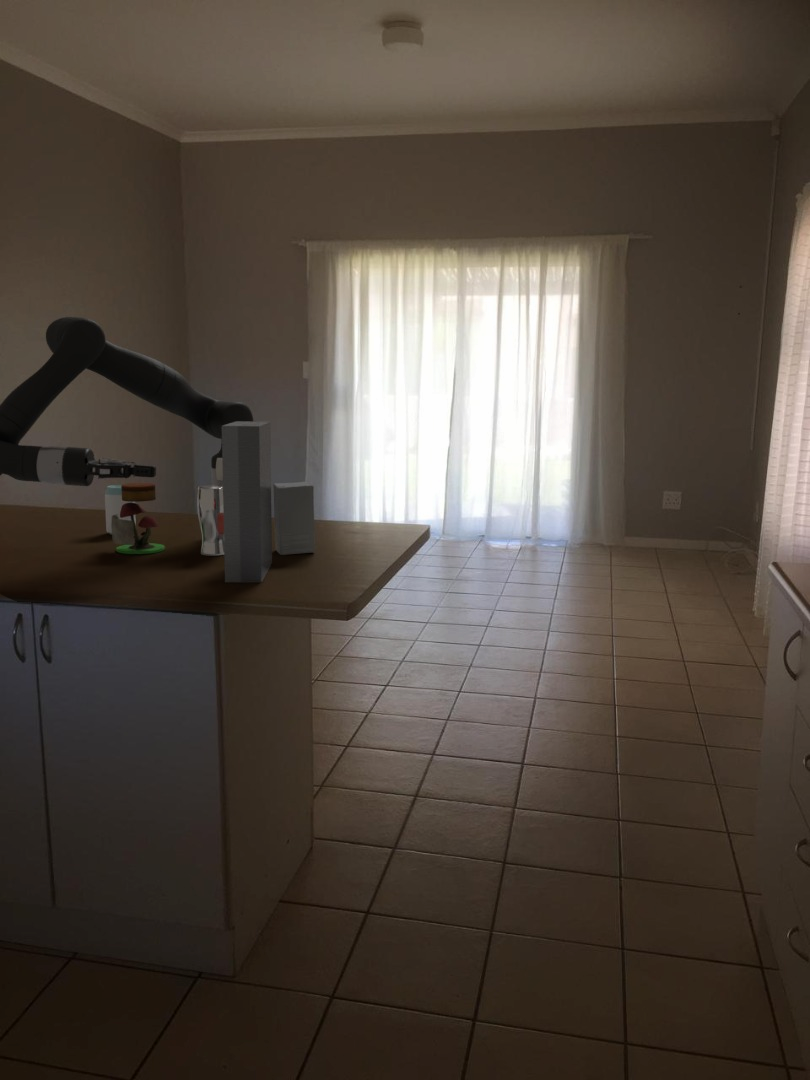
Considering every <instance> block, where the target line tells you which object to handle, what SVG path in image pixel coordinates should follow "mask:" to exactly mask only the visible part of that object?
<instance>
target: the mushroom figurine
mask: <svg viewBox="0 0 810 1080" xmlns="http://www.w3.org/2000/svg"><path fill="white" fill-rule="evenodd" d="M121 485H122V486H121V490H122V500H123V501H128V502H135V503H125V504H123V505H122V508H121V512H120V517H121V518H123V517H128V516H131V521H130V520H122V519H119V516H118V514H116V515H113V516H111V517H112V523H111V527H112V535H111V537H112V538H111V539H112V542H113V543H114V544H115V545H120V546H116V549H115V550H116V552H117V553H120V554H125V555H148V554H155V553H160V552H163V551H165V549H166V546H165V545H164V544H161V543H152V542H151V543H150V542H149V541H148V540H149V538H150V536H151V534H152V530H151V529H152V528H156V527H158V526H159V524H158V522H157V520H156V519H155V518H154V517H153V516H151V515H150V516H149V515H146V516H145V515H144V516H143V517H142V518H141V519H140V521H139V522H138V525H135V521H134V517H133V515H135V516H136V515H139V514H142V513H146V512H147V510H145V509H144V508H143V507H141V505H140V504H138V503H137V502H151V501H155V500H156V498H157V497H156V496H157V495H156V484H155V483H151V482H132V483H131V482H130V483H129V482H128V483H123V484H121ZM137 526H138V527H140V528H142V529H145V530H144V531H142V532H141V533H140V536H141V537H140V536H139V532H138V529H137Z"/></svg>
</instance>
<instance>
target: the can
mask: <svg viewBox="0 0 810 1080" xmlns="http://www.w3.org/2000/svg"><path fill="white" fill-rule="evenodd" d="M122 485H123V484H113V485H107V486H106V488H107V489H106V490H105V492H104V505H105V507H104V508H105V526H106V527H105V528H106V533H107V534H109V535H110V536H112V527H111V523H112V517H111V516H113V515H116V514H118V516H119V519H122V520H130V521H131V516H128V517H123V518H121V517H120V512H121V508H122V505H123V504H125V503H135V504H136V502H128V501H123V500H122V490H121V486H122ZM133 517H134V521H135V525H136V524H137V523H136V521H137V520H136V515H133ZM136 526H137V525H136Z"/></svg>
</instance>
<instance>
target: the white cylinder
mask: <svg viewBox="0 0 810 1080" xmlns="http://www.w3.org/2000/svg"><path fill="white" fill-rule="evenodd" d="M216 477H217V480H223V465H222V458H217V461H216Z"/></svg>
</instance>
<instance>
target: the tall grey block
mask: <svg viewBox="0 0 810 1080" xmlns="http://www.w3.org/2000/svg"><path fill="white" fill-rule="evenodd" d="M221 440H222V465H223V511H224V555H223V556H224V557H223V558H224V583H258V584H259V583H262V582H263V580H264V578H265V577H266V575H267V574H268V571H269V570H270V568H271V566H272V565H271V564H273V540H272V539H273V538H272V537H273V536H272V535H273V534H272V532H273V528H272V525H273V524H272V522H273V521H272V460H271V459H272V457H271V456H272V453H271V451H272V450H271V449H272V448H271V447H272V446H271V443H272V442H271V421H253V422H243V421H236V422H233V423H229V424H226V425H223V426H222V439H221Z"/></svg>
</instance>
